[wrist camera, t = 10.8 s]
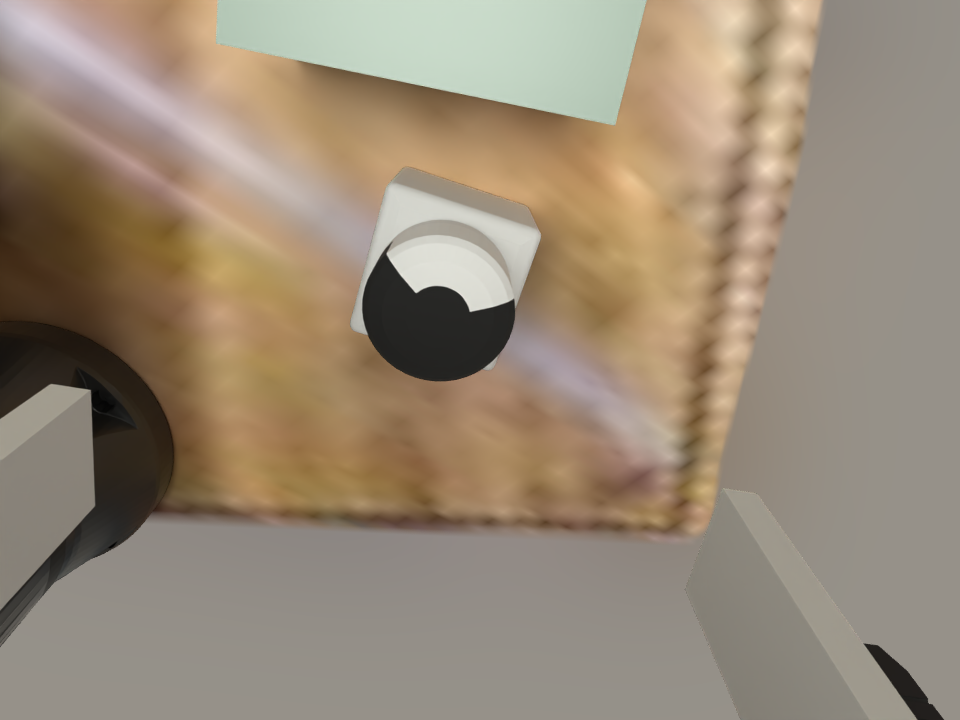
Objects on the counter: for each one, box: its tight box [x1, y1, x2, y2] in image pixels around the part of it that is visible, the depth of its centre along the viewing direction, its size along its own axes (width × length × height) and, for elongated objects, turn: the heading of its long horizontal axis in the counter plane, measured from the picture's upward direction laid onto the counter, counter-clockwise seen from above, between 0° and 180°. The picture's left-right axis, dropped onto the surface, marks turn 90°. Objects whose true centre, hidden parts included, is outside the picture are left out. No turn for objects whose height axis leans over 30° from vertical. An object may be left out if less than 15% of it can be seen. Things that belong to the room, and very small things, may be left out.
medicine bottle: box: [350, 167, 541, 381], centre depth 31 cm, size 7×7×12 cm
